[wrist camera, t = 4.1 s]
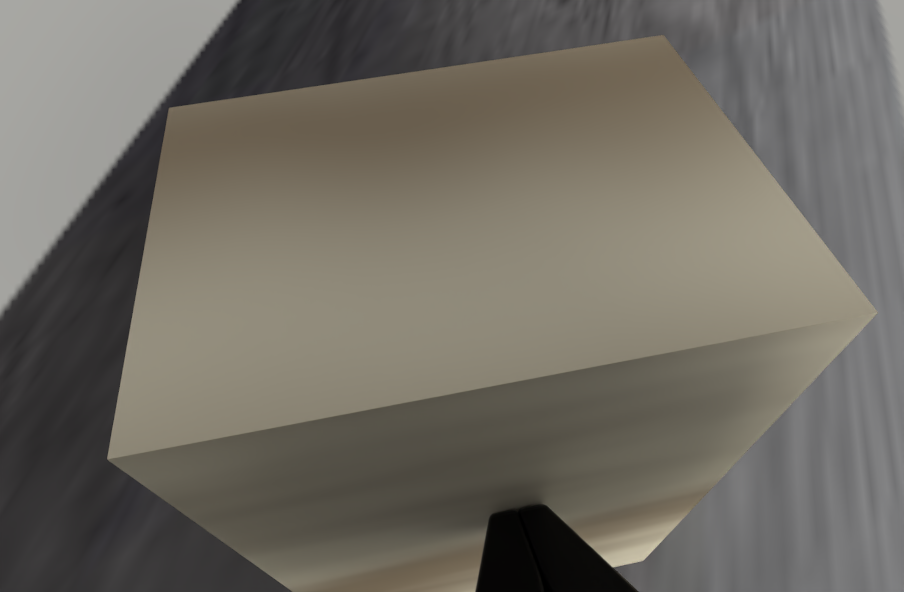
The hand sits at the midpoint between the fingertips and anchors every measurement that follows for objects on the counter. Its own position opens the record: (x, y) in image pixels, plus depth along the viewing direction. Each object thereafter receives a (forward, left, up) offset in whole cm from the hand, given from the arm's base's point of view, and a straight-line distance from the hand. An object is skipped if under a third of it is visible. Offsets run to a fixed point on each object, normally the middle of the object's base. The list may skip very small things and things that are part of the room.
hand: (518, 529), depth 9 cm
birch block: (+1, 0, -6) cm, 6 cm away
